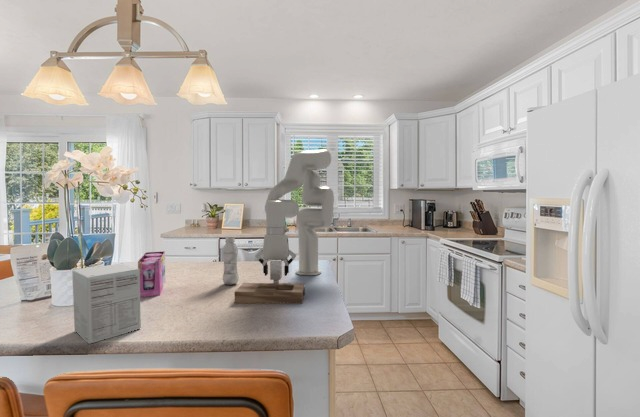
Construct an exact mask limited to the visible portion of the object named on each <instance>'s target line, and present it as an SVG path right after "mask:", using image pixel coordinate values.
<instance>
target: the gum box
mask: <svg viewBox="0 0 640 417" xmlns="http://www.w3.org/2000/svg"><path fill="white" fill-rule="evenodd" d="M165 252H166V251H151V252H150V251H148V252H145V253H144V254H143V255H142V256H141V257H140V259H138V261H137V268H138V269H140V298H144V297H157V296H161V293H162V291H163V289H164V287H165V284H166V257H165V256H166V254H165Z"/></svg>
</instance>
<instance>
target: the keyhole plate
mask: <svg viewBox="0 0 640 417" xmlns="http://www.w3.org/2000/svg"><path fill="white" fill-rule="evenodd" d="M305 285H306V283H304V282H303V283H298V282H297V283H295V282H293V283H292V282H290V283H285V282H281V283H280V282H279V283H273V282H269V283H268V282H243V283H242V284H241V285H239V287H238V288H237V289H236V290H235V291H234V304H289V305H290V304H292V305H293V304H294V305H295V304H297V305H298V304H299V305H300V304H303V300H304V297H303V296H305V294H306V292H305V290H306V286H305Z"/></svg>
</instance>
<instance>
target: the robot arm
mask: <svg viewBox="0 0 640 417" xmlns="http://www.w3.org/2000/svg"><path fill="white" fill-rule="evenodd" d="M331 163H332V154H331V153H330V151H329V150H327V149H314V150H313V149H312V150H303V151H300V152H296V153H294V154H293V155H292V156H291V158H290V162H289V163H288V167H287V170H286V173H285V176H284V178H283V179H281V180H280V181H279V182H277V184H275V185H274V186H273V187H272V189H271V190H270V191H269V193H268V195H267V199H266V202H265V204H264V211H265V218H266V219H265V220H266V222H265V224H266V225H265V226H266V227H265V231H266V234H264V238H263V246H262V250H261V251H259V252H258V253H256V255H255V258H256V259H257V260H258V262H259V263H260V264H262V266H263V267H262V269H263V270H262V271H263V274H264V276H268V275H269V266H268V261H272V260H282V261H283V263H284V268H283V269H284V270H283V271H284V276H286V277H287V276H288V274H289V273H290V272H289V270H290V269H289V266H290V264H291V263H292V262H293V261H294V260H295V259H296V257H297V254H296V253H294V252H293V251H292V250H290V247H289V246H290V245H289V237H288V234H286V233H287V232H289V231H290V228H288V227H286V219H287V218H295V217H296V225H297V230H298V268H297V269H295V274H297V275H299V276H317V275H320V274H321V273H322V269H320V268H319V237H318V233H317V232H316V231H315V229H321V230H323V229H329V228H330V227H331V226H332V223H333V217H334V215H333V214H334V205H335V195H334V191H333V189H332V188H331V187H329V186H321V181H322V180H321V176H320V174H319V172H318V171H320V170H323V169H326V168H328V167H329V166H330V165H331ZM299 188H302V193H301V201H302V204H303V205H305V206H306V208H301V209H300V206H299V203H298V202H297V201H296V200H293V199H281V198H282V197H284V196H285V195H286V194H289V193H292V192H294V191H295V190H297V189H299ZM307 207H308V208H307ZM309 207H311V208H309ZM312 207H321V208H312ZM261 256H262V257H261ZM289 256H291V257H290V259H288V258H289Z"/></svg>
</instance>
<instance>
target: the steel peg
mask: <svg viewBox="0 0 640 417" xmlns="http://www.w3.org/2000/svg"><path fill="white" fill-rule="evenodd" d="M282 261H283V260H270V262H269V266H270V268H269V273H270V274H269V276H270V277H269V280H271V281H273V282H272V283H280V281H281V279H282V278H283V277H282V276H283V273H282V271H283V270H282V268H283V265H282V264H283V263H282Z"/></svg>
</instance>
